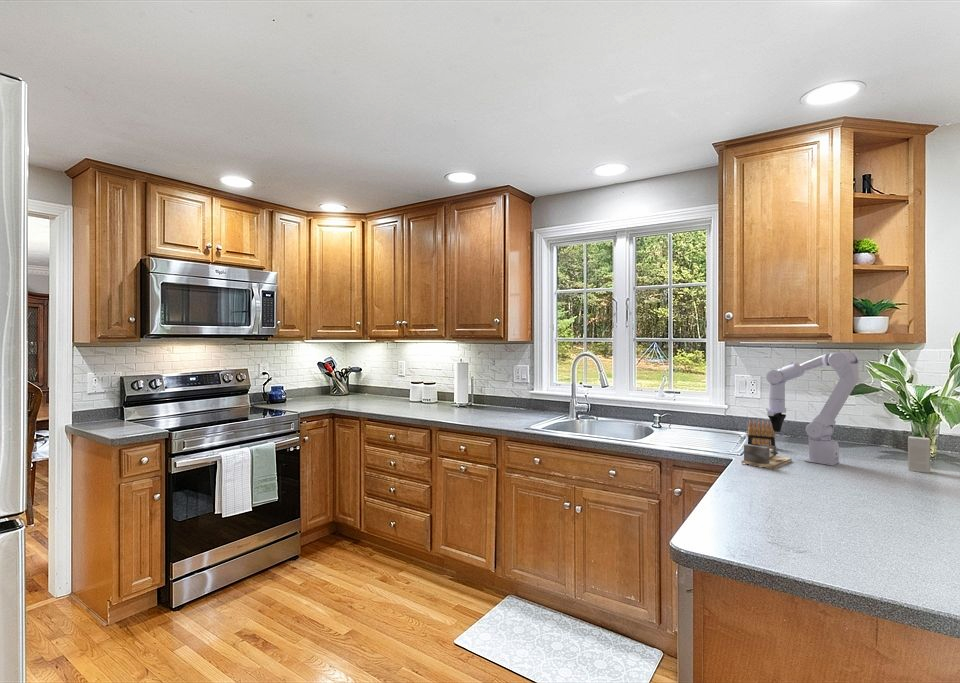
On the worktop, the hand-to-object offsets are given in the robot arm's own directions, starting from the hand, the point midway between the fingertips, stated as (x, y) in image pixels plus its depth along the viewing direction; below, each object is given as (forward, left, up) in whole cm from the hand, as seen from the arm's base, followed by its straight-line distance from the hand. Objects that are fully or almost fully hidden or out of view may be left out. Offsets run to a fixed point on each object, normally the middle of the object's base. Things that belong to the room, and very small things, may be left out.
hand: (777, 431), depth 214 cm
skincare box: (-44, -9, -10) cm, 46 cm away
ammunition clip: (+10, -10, -10) cm, 17 cm away
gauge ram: (-3, +18, -7) cm, 20 cm away
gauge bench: (-3, +19, -9) cm, 21 cm away
